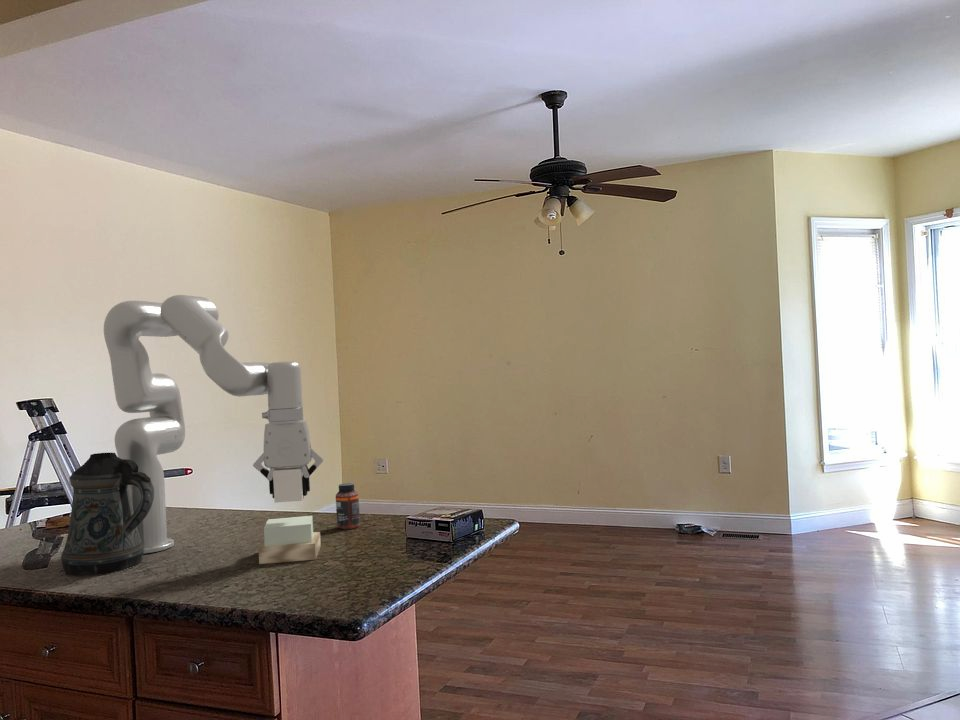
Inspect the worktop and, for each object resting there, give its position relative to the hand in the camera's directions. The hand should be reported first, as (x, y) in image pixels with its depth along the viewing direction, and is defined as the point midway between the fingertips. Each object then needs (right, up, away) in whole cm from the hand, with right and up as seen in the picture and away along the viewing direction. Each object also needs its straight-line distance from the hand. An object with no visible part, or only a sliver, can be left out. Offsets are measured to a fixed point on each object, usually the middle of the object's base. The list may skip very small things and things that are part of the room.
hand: (290, 495), depth 167 cm
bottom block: (0, -14, 0) cm, 14 cm away
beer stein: (-40, -15, -2) cm, 42 cm away
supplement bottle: (+9, -13, +26) cm, 31 cm away
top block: (0, -10, 0) cm, 10 cm away
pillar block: (0, -1, 0) cm, 1 cm away
